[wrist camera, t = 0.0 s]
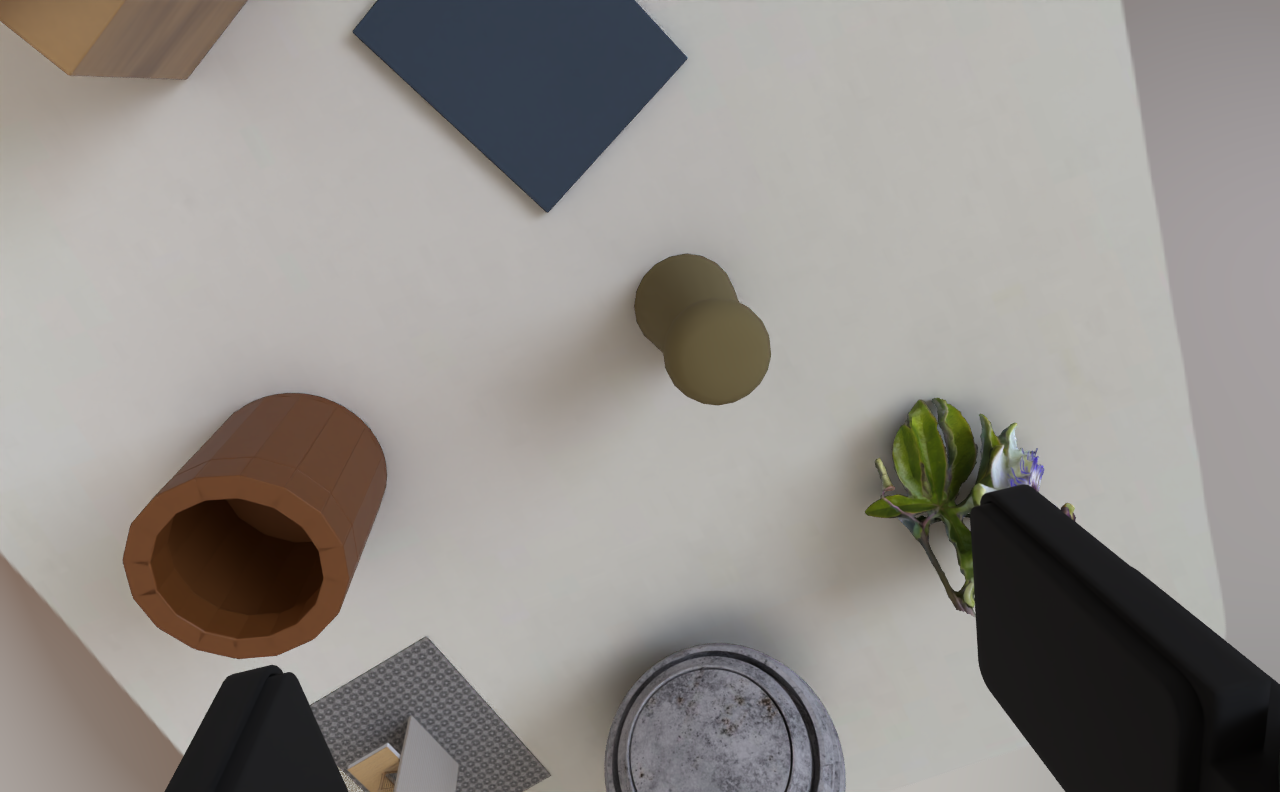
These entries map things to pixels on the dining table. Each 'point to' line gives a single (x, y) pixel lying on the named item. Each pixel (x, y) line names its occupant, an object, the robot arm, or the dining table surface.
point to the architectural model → (422, 730)
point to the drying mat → (528, 76)
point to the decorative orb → (722, 728)
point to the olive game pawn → (702, 330)
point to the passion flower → (951, 481)
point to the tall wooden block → (121, 34)
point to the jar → (259, 528)
